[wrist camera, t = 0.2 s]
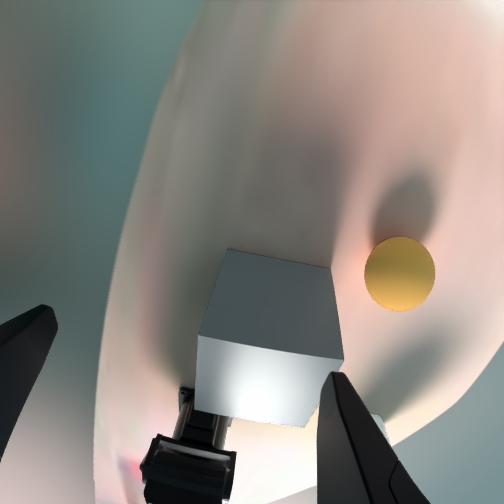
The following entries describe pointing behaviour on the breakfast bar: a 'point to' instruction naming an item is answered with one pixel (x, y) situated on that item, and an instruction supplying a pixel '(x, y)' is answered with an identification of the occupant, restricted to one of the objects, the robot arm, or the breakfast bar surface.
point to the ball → (399, 273)
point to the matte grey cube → (267, 340)
